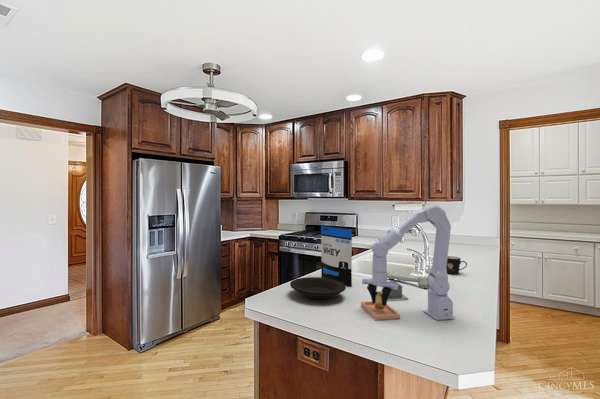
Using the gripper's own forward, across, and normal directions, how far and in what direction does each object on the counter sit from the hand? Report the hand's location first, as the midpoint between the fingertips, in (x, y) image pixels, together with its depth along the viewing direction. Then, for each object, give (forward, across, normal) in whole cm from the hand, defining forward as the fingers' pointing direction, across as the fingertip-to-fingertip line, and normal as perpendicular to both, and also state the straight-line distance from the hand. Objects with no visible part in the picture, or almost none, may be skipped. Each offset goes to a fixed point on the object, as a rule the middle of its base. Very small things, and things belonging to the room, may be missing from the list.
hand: (379, 304), depth 128 cm
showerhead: (+4, -7, -61) cm, 61 cm away
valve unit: (+3, +3, -23) cm, 23 cm away
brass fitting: (+2, 0, 0) cm, 2 cm away
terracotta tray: (+3, 0, 0) cm, 3 cm away
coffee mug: (+4, -13, -84) cm, 85 cm away
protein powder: (+4, +37, -28) cm, 47 cm away
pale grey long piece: (+4, +4, -48) cm, 49 cm away
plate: (+4, +32, -2) cm, 32 cm away
